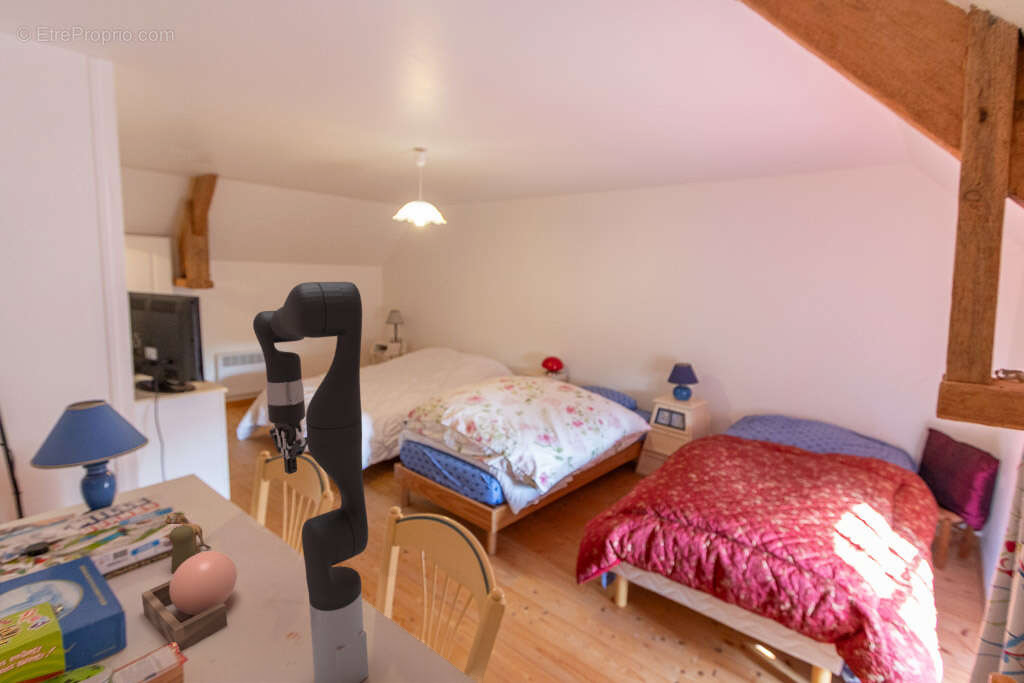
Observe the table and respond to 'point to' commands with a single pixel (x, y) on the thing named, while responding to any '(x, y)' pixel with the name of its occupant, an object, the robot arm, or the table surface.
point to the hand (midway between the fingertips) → (291, 472)
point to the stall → (171, 627)
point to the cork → (181, 545)
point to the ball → (202, 582)
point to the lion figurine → (179, 519)
